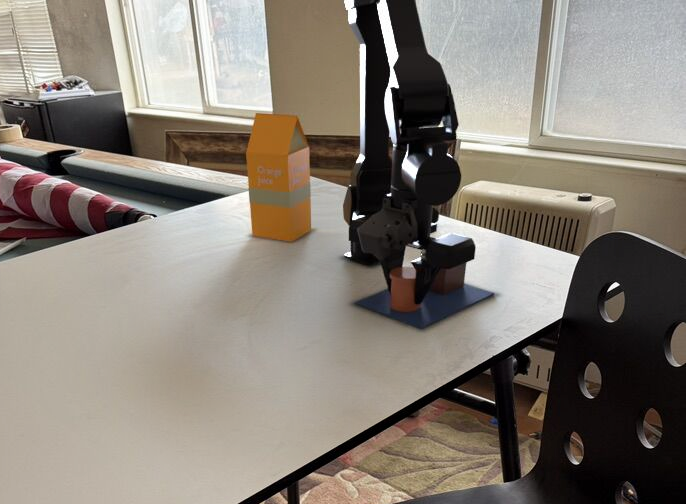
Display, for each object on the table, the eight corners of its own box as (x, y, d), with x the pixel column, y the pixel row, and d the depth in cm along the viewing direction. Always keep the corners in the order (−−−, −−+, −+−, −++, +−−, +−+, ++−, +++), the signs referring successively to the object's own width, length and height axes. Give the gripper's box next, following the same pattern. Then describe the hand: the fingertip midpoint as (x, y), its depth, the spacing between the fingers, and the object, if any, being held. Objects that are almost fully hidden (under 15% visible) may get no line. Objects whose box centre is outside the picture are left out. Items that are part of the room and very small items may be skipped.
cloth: (354, 304, 104) (354, 302, 104) (427, 274, 113) (427, 272, 113) (421, 329, 96) (421, 327, 96) (494, 294, 105) (494, 293, 105)
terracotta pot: (381, 306, 102) (382, 272, 99) (403, 297, 105) (405, 264, 102) (406, 315, 99) (409, 281, 96) (429, 305, 102) (432, 272, 99)
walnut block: (418, 287, 108) (420, 251, 104) (438, 278, 110) (441, 243, 107) (443, 295, 105) (447, 259, 101) (463, 286, 107) (467, 250, 104)
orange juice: (291, 241, 128) (286, 119, 115) (251, 235, 132) (242, 116, 119) (312, 230, 133) (309, 111, 121) (273, 224, 137) (266, 109, 124)
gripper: (320, 185, 93) (322, 298, 103) (428, 211, 82) (419, 335, 92) (376, 170, 99) (373, 278, 109) (484, 192, 88) (470, 310, 98)
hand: (405, 299), depth 101 cm, fingers closed on terracotta pot, 4 cm apart
